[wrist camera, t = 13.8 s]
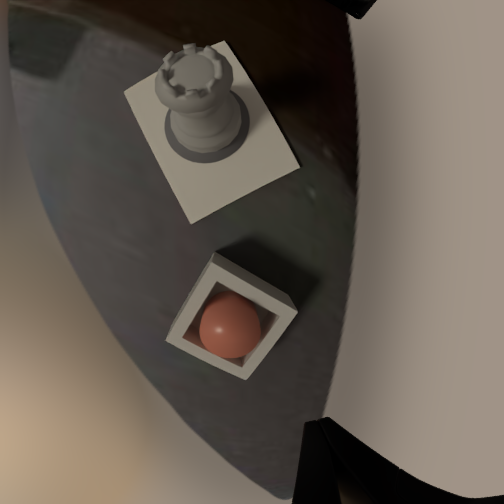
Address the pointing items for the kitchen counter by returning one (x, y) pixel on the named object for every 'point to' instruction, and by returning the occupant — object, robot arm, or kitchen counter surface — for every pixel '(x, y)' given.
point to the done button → (230, 325)
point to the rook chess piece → (199, 98)
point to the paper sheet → (219, 162)
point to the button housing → (248, 285)
